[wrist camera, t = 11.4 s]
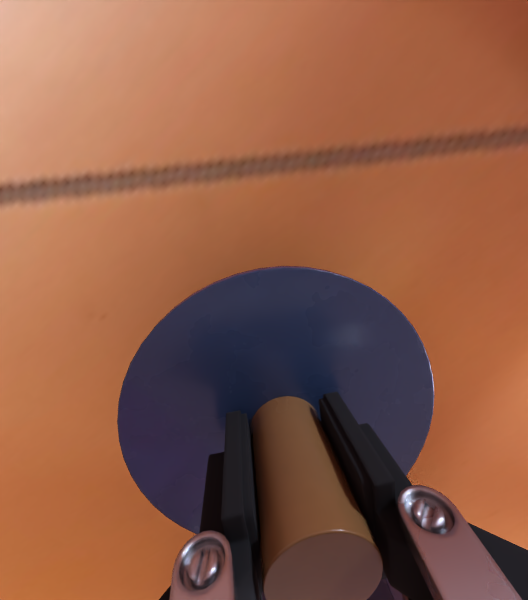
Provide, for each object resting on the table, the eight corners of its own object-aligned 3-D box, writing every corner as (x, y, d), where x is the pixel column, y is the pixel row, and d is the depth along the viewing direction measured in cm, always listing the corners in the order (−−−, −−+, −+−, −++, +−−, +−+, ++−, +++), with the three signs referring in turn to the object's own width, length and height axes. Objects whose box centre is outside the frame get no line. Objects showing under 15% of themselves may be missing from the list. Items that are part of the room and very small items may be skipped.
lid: (58, 375, 11) (-163, 555, 5) (341, 198, 10) (490, 151, 4) (236, 562, 14) (237, 805, 8) (456, 435, 13) (630, 594, 8)
